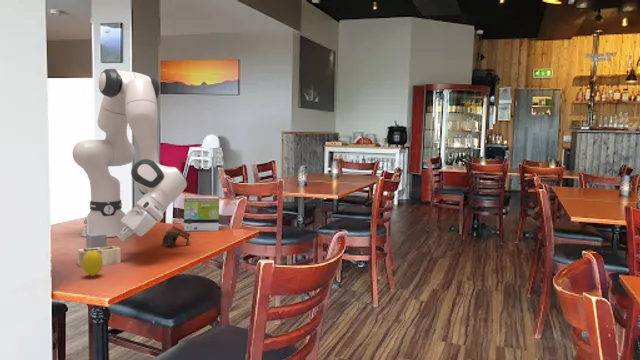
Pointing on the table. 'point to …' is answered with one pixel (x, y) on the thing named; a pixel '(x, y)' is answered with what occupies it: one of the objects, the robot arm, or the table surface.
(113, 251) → the birch block
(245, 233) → the table surface
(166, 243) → the dark brown arched figure
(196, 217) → the tea box
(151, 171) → the robot arm
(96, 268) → the lemon
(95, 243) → the grey block
